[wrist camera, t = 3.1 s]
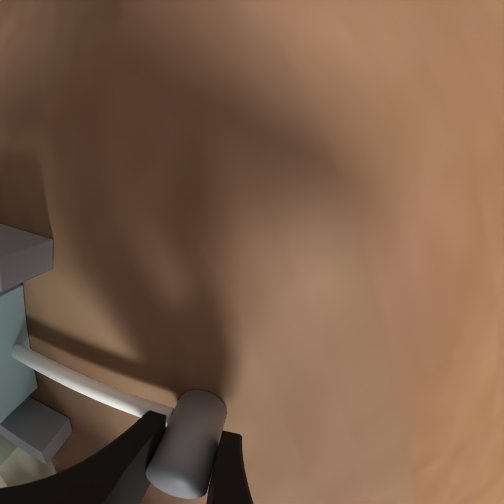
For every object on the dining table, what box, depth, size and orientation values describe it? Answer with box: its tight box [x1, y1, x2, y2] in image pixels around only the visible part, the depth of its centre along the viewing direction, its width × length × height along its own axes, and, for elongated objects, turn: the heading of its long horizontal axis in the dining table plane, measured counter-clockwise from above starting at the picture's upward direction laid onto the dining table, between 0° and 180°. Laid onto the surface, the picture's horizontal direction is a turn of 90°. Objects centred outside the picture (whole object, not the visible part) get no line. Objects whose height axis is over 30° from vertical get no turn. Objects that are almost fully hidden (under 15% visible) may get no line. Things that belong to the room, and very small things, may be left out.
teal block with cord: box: [0, 284, 227, 499], centre depth 10 cm, size 6×16×4 cm, turn 78°
